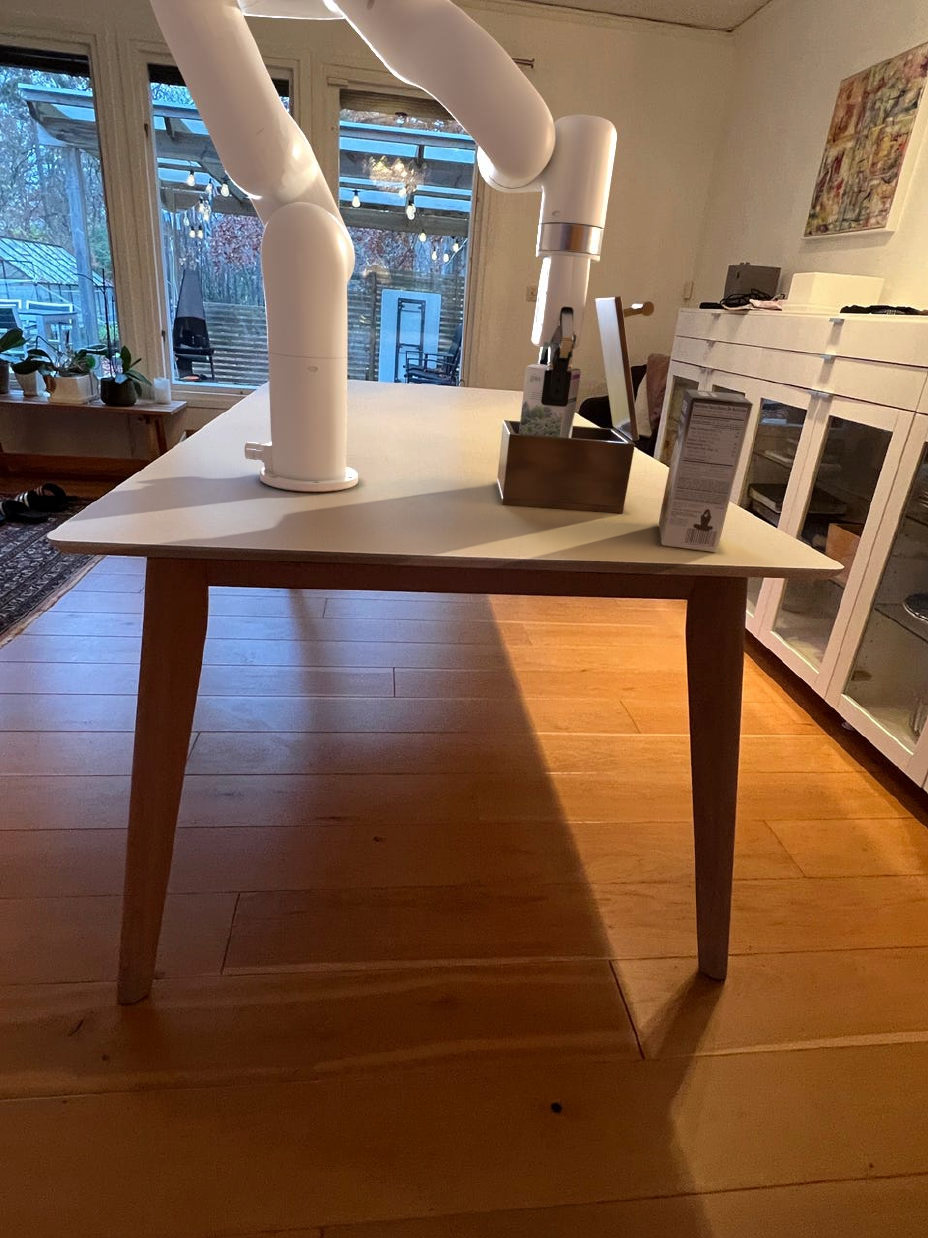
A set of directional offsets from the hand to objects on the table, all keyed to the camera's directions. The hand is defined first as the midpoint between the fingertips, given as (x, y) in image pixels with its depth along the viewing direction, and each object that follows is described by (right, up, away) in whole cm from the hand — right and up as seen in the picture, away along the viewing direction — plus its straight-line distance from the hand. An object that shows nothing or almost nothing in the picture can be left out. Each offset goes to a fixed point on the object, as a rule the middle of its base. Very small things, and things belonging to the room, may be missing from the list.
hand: (549, 400), depth 89 cm
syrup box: (-1, -10, +4) cm, 11 cm away
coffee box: (+15, -19, -8) cm, 25 cm away
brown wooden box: (+2, -11, +5) cm, 13 cm away
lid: (+8, +4, -2) cm, 9 cm away
